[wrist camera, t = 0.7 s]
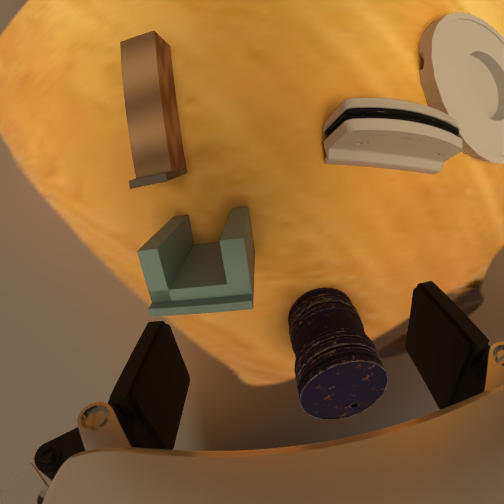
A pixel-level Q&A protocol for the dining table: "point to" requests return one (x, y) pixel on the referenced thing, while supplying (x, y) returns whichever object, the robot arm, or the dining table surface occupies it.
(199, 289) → the u-shaped channel piece
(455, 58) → the ashtray
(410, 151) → the grey layered block
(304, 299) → the storage jar
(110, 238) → the dining table surface
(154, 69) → the brown wooden block
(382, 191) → the dining table surface
